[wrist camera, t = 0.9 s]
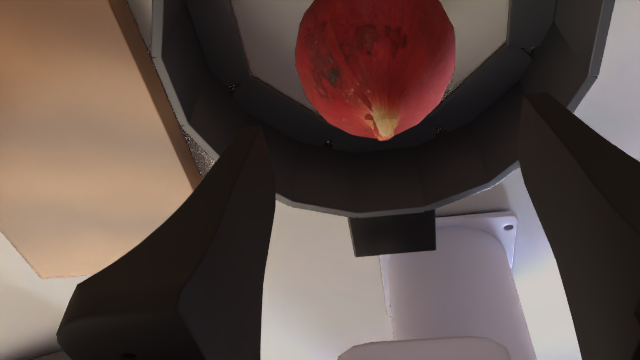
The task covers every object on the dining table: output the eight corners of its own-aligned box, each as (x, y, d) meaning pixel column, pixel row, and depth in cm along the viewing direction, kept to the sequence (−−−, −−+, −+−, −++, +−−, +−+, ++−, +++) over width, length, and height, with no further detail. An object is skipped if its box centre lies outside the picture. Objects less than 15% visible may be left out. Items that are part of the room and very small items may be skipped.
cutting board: (230, 244, 33) (226, 263, 32) (50, 260, 35) (41, 279, 34) (82, -105, 20) (67, -92, 19) (-200, -54, 21) (-229, -39, 20)
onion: (274, 24, 23) (253, 143, 17) (355, -94, 20) (363, 4, 14) (380, 90, 25) (393, 215, 20) (469, -7, 22) (516, 109, 16)
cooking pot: (537, 175, 29) (562, 240, 26) (250, 204, 31) (239, 267, 28) (625, -405, 15) (709, -427, 11) (76, -282, 16) (12, -270, 13)
